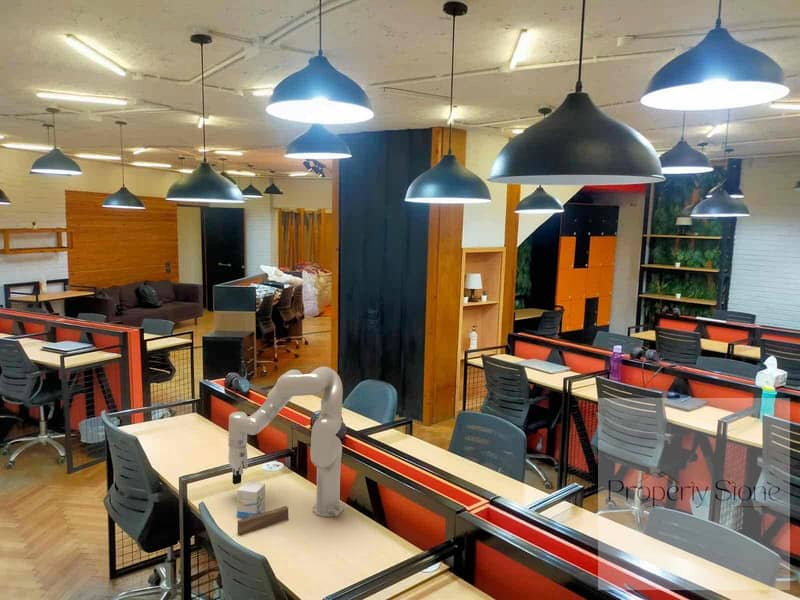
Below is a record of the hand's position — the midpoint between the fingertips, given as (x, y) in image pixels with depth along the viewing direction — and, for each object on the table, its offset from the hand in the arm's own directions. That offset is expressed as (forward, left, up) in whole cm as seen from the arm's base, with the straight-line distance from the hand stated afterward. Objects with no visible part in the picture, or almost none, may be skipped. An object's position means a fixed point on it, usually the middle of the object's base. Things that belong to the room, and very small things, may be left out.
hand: (236, 482), depth 231 cm
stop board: (-26, 0, -7) cm, 27 cm away
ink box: (-14, 0, -8) cm, 16 cm away
